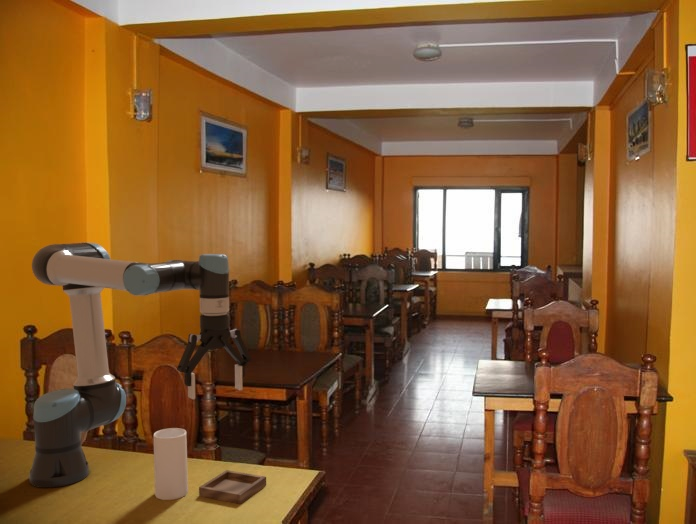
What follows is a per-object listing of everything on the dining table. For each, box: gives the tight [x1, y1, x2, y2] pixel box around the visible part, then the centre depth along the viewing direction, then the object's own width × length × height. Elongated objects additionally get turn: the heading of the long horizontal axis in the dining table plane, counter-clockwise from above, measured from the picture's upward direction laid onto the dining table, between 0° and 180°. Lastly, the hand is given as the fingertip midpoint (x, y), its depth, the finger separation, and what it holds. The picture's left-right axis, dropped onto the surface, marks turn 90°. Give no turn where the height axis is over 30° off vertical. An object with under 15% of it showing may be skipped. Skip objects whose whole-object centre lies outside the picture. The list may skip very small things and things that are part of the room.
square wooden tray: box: [198, 469, 267, 505], centre depth 171 cm, size 12×12×2 cm
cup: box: [153, 427, 189, 501], centre depth 170 cm, size 8×8×16 cm
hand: (215, 393), depth 172 cm, fingers open, 13 cm apart
